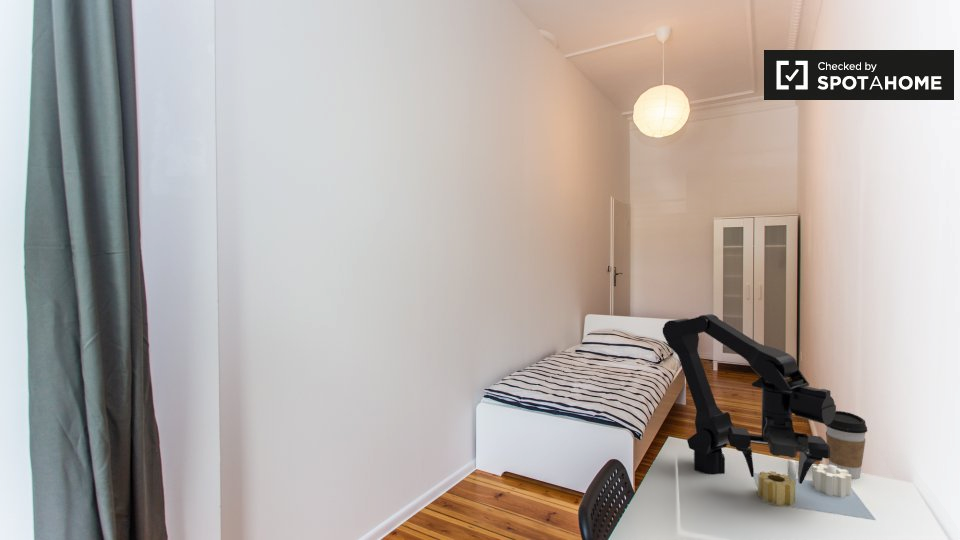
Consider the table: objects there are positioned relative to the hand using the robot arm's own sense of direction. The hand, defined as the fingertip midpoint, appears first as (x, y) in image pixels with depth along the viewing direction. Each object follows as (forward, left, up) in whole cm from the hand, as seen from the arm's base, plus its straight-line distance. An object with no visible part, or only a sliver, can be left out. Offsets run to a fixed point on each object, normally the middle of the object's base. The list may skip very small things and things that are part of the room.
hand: (775, 479), depth 106 cm
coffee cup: (+18, +19, -5) cm, 27 cm away
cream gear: (+13, +8, -4) cm, 16 cm away
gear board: (+7, +4, -5) cm, 10 cm away
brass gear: (0, 0, -4) cm, 4 cm away
